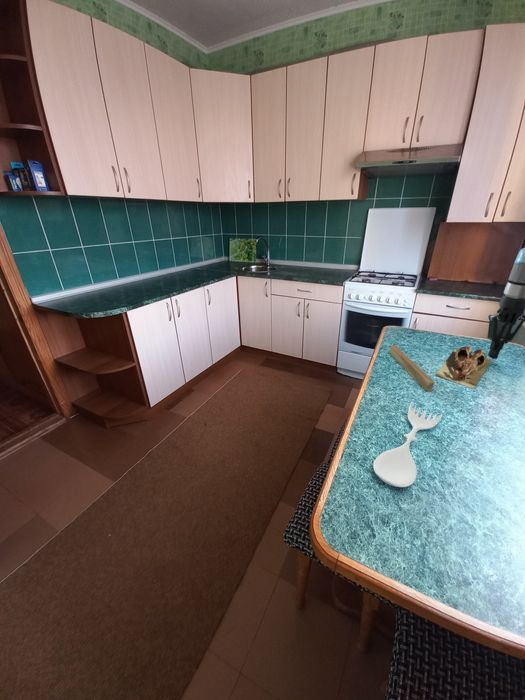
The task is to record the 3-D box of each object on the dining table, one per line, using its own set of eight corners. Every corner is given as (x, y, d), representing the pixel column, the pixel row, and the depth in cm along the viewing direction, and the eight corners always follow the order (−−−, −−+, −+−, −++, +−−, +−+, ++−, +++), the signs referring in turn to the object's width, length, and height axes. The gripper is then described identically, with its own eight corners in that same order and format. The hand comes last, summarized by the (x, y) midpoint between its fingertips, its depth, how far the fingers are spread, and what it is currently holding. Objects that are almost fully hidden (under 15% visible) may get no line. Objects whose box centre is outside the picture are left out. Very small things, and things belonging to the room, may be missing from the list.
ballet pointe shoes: (498, 345, 112) (486, 374, 94) (492, 360, 115) (478, 391, 97) (458, 335, 120) (439, 360, 102) (453, 349, 123) (434, 375, 105)
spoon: (441, 422, 83) (444, 413, 82) (406, 500, 62) (409, 490, 60) (408, 409, 89) (410, 400, 87) (365, 478, 67) (367, 467, 66)
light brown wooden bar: (393, 352, 122) (395, 344, 120) (431, 391, 97) (434, 382, 95) (389, 352, 122) (390, 345, 120) (426, 391, 97) (428, 382, 95)
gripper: (525, 292, 101) (501, 351, 112) (489, 293, 101) (468, 353, 112) (545, 298, 95) (517, 361, 106) (506, 299, 94) (482, 362, 105)
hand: (492, 357), depth 109 cm, fingers closed
